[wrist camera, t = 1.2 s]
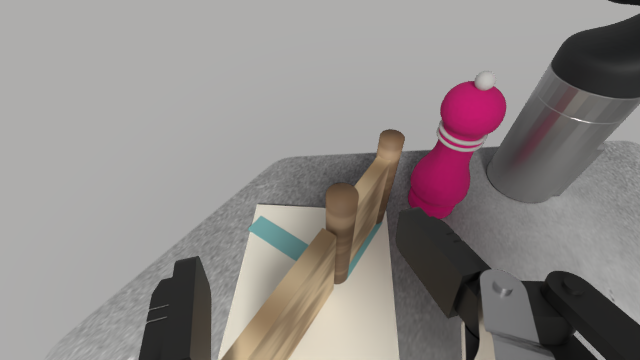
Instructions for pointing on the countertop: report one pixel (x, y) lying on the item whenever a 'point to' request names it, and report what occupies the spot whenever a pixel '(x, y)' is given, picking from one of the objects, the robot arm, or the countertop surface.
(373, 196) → the fixed panel
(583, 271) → the countertop surface
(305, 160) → the countertop surface
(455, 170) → the pepper mill
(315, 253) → the swing panel
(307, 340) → the mat
